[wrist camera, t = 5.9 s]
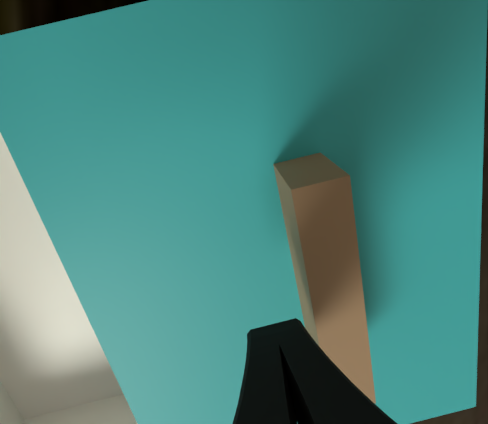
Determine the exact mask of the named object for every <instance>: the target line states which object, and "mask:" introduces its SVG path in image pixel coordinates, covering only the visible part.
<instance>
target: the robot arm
mask: <svg viewBox="0 0 488 424" xmlns="http://www.w3.org/2000/svg"><path fill="white" fill-rule="evenodd" d="M297 422H298V424H397V423H396V422H395V421H394V420H393V419H391V418H390V417H389V416H388V415H387V414H386V413H384V412H383V411H382V410H381V409H380V408H379V407H378V406H377V405H376V404H374V403H373V402H372V401H371V400H370V399H369V398H368V397H367V396H366V395H365V394H364V393H363V392H362V391H361V390H360V389H358V388H357V387H356V386H355V385H354V384H353V383H352V382H351V381H350V380H349V379H348V378H347V377H346V375H345V374H344V373H343V372H342V371H341V370H340V369H339V368H338V367H337V366H336V365H335V364H334V363H333V362H332V361H331V359H330V358H329V357H328V356H327V355H326V354H325V353H324V352H323V350H322V349H321V348H320V347H319V346H318V344H317V343H316V342H315V341H314V339H313V338H312V337H311V335H310V334H309V333H308V331H307V330H306V329H305V327H304V326H303V324H302V322H301V321H300V320H298V319H296V318H294V319H290V320H286V321H282V322H278V323H275V324H271V325H267V326H263V327H259V328H255V329H251V330H250V331H249V332H248V333H247V353H246V362H245V369H244V375H243V380H242V385H241V390H240V395H239V400H238V405H237V409H236V412H235V416H234V420H233V424H297Z"/></svg>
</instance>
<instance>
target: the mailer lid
mask: <svg viewBox="0 0 488 424" xmlns="http://www.w3.org/2000/svg"><path fill="white" fill-rule="evenodd" d="M487 8H488V0H148V1H144V2H140V3H136V4H131V5H127V6H123V7H119V8H114V9H110V10H106V11H102V12H97V13H93V14H89V15H84V16H80V17H76V18H72V19H67V20H63V21H59V22H55V23H50V24H46V25H42V26H38V27H33V28H29V29H25V30H21V31H16V32H12V33H8V34H4V35H0V133H1V135H2V137H3V139H4V141H5V143H6V145H7V147H8V150H9V152H10V154H11V156H12V158H13V160H14V162H15V164H16V167H17V169H18V171H19V173H20V175H21V177H22V179H23V181H24V184H25V186H26V188H27V190H28V192H29V194H30V196H31V198H32V201H33V203H34V205H35V207H36V209H37V211H38V213H39V215H40V218H41V220H42V222H43V224H44V226H45V228H46V230H47V232H48V235H49V237H50V239H51V241H52V243H53V245H54V247H55V249H56V252H57V254H58V256H59V258H60V260H61V262H62V264H63V266H64V269H65V271H66V273H67V275H68V277H69V279H70V281H71V283H72V286H73V288H74V290H75V292H76V294H77V296H78V298H79V300H80V303H81V305H82V307H83V309H84V311H85V313H86V315H87V317H88V320H89V322H90V324H91V326H92V328H93V330H94V332H95V334H96V337H97V339H98V341H99V343H100V345H101V347H102V349H103V351H104V354H105V356H106V358H107V360H108V362H109V364H110V366H111V369H112V371H113V373H114V375H115V377H116V379H117V381H118V383H119V386H120V388H121V390H122V392H123V394H124V396H125V398H126V400H127V403H128V405H129V407H130V409H131V411H132V413H133V415H134V417H135V420H136V422H137V424H233V420H234V416H235V412H236V409H237V405H238V400H239V395H240V390H241V385H242V380H243V375H244V369H245V362H246V353H247V333H248V332H249V331H250V330H251V329H255V328H259V327H263V326H267V325H271V324H275V323H278V322H282V321H286V320H290V319H294V318H296V319H298V320H300V321H301V322H302V324H303V326H304V327H305V329H306V330H307V331H308V333H309V334H310V335H311V337H312V338H313V339H314V341H315V342H316V343H317V344H318V346H319V347H320V348H321V349H322V350H323V352H324V353H325V354H326V355H327V356H328V357H329V358H330V359H331V361H332V362H333V363H334V364H335V365H336V366H337V367H338V368H339V369H340V370H341V371H342V372H343V373H344V374H345V375H346V377H347V378H348V379H349V380H350V381H351V382H352V383H353V384H354V385H355V386H356V387H357V388H358V389H360V390H361V391H362V392H363V393H364V394H365V395H366V396H367V397H368V398H369V399H370V400H371V401H372V402H373V403H374V404H376V405H377V406H378V407H379V408H380V409H381V410H382V411H383V412H384V413H386V414H387V415H388V416H389V417H390V418H391V419H393V420H394V421H395V422H396V423H397V424H410V423H414V422H418V421H422V420H425V419H429V418H433V417H437V416H441V415H445V414H449V413H453V412H457V411H461V410H464V409H468V408H472V407H476V384H477V350H478V315H479V281H480V247H481V213H482V179H483V145H484V110H485V76H486V42H487ZM297 424H298V422H297Z"/></svg>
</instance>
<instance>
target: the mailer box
mask: <svg viewBox="0 0 488 424" xmlns="http://www.w3.org/2000/svg"><path fill="white" fill-rule="evenodd" d="M0 424H137V422H136V420H135V417H134V415H133V413H132V411H131V409H130V407H129V405H128V403H127V400H126V398H125V396H124V394H123V392H122V390H121V388H120V386H119V383H118V381H117V379H116V377H115V375H114V373H113V371H112V369H111V366H110V364H109V362H108V360H107V358H106V356H105V354H104V351H103V349H102V347H101V345H100V343H99V341H98V339H97V337H96V334H95V332H94V330H93V328H92V326H91V324H90V322H89V320H88V317H87V315H86V313H85V311H84V309H83V307H82V305H81V303H80V300H79V298H78V296H77V294H76V292H75V290H74V288H73V286H72V283H71V281H70V279H69V277H68V275H67V273H66V271H65V269H64V266H63V264H62V262H61V260H60V258H59V256H58V254H57V252H56V249H55V247H54V245H53V243H52V241H51V239H50V237H49V235H48V232H47V230H46V228H45V226H44V224H43V222H42V220H41V218H40V215H39V213H38V211H37V209H36V207H35V205H34V203H33V201H32V198H31V196H30V194H29V192H28V190H27V188H26V186H25V184H24V181H23V179H22V177H21V175H20V173H19V171H18V169H17V167H16V164H15V162H14V160H13V158H12V156H11V154H10V152H9V150H8V147H7V145H6V143H5V141H4V139H3V137H2V135H1V133H0Z"/></svg>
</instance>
